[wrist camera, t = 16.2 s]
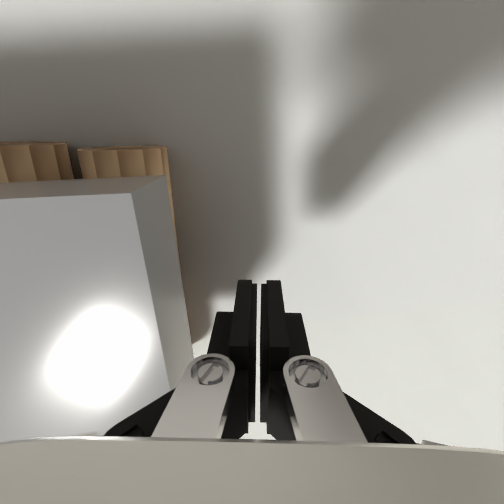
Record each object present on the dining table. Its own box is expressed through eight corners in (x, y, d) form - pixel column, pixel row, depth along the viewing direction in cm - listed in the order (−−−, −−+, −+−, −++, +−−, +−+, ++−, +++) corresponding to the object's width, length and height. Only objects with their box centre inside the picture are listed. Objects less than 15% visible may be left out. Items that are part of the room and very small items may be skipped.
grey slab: (-179, 191, 12) (-335, 214, 9) (165, 174, 12) (131, 193, 9) (-69, 381, 16) (-151, 446, 13) (196, 375, 16) (180, 440, 12)
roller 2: (101, 145, 15) (58, 151, 12) (173, 145, 15) (150, 150, 11) (139, 346, 19) (116, 391, 16) (195, 346, 19) (182, 391, 16)
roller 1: (10, 141, 15) (-60, 145, 12) (81, 142, 15) (32, 146, 12) (64, 342, 19) (24, 385, 16) (119, 344, 19) (90, 387, 16)
